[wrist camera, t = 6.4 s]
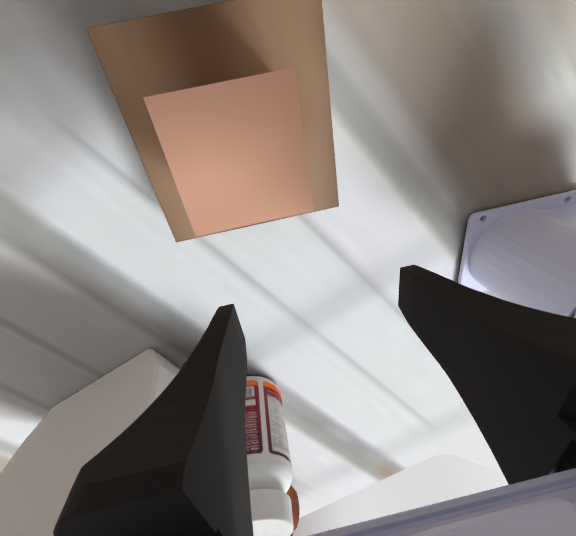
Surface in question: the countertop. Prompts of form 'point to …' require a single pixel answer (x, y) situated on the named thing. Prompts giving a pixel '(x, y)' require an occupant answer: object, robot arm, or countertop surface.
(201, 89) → the terracotta block
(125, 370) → the soap bottle
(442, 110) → the countertop surface
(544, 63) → the countertop surface
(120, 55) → the walnut base
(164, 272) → the countertop surface
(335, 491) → the countertop surface
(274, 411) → the pill bottle
